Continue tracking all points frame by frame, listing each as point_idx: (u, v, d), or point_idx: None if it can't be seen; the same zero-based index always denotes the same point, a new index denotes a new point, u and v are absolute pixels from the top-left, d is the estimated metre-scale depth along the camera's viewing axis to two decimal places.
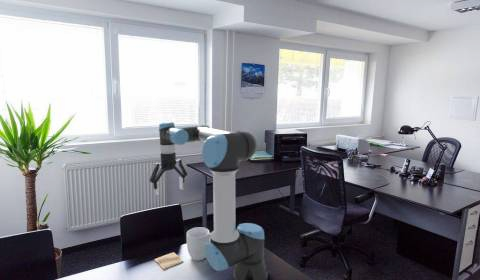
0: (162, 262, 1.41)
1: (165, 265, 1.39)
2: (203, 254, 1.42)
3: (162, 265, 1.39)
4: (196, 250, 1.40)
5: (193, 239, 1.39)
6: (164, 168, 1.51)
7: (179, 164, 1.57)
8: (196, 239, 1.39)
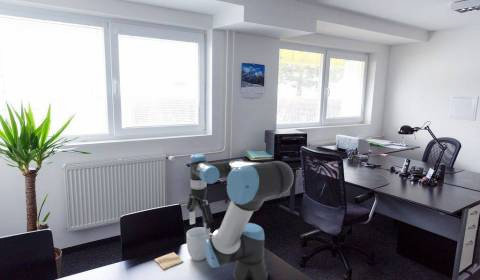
0: (162, 262, 1.41)
1: (165, 265, 1.39)
2: (203, 254, 1.42)
3: (162, 265, 1.39)
4: (196, 250, 1.40)
5: (193, 239, 1.39)
6: (192, 201, 1.44)
7: None
8: (196, 239, 1.39)
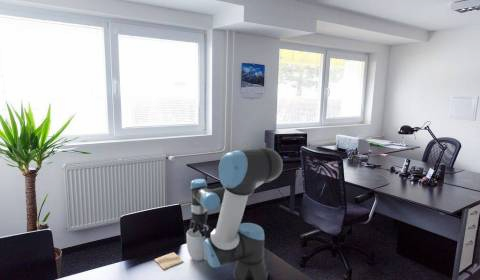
0: (162, 262, 1.41)
1: (165, 265, 1.39)
2: (203, 254, 1.42)
3: (162, 265, 1.39)
4: (196, 250, 1.40)
5: (193, 239, 1.39)
6: (193, 225, 1.46)
7: None
8: (196, 239, 1.39)
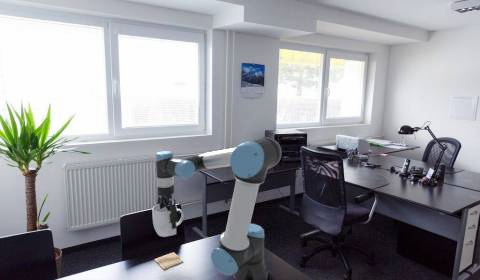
0: (162, 262, 1.41)
1: (165, 265, 1.39)
2: (169, 230, 1.36)
3: (162, 265, 1.39)
4: (161, 225, 1.34)
5: (158, 213, 1.33)
6: (160, 200, 1.39)
7: None
8: (161, 213, 1.33)
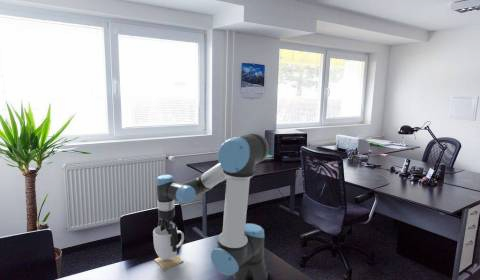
0: (162, 262, 1.41)
1: (165, 265, 1.39)
2: (170, 252, 1.37)
3: (162, 265, 1.39)
4: (162, 248, 1.35)
5: (159, 237, 1.35)
6: (160, 223, 1.41)
7: None
8: (162, 237, 1.34)
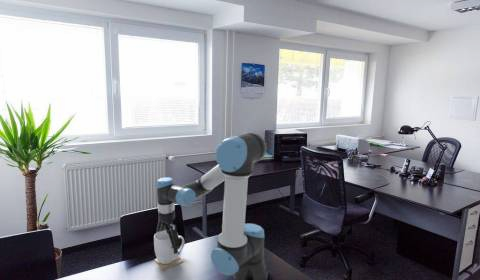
0: None
1: (165, 265, 1.39)
2: (170, 257, 1.38)
3: (162, 265, 1.39)
4: (163, 252, 1.36)
5: (160, 241, 1.35)
6: (160, 225, 1.41)
7: None
8: (163, 242, 1.35)
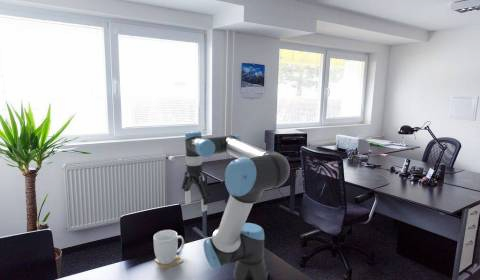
0: None
1: (165, 265, 1.39)
2: (170, 258, 1.38)
3: (162, 265, 1.39)
4: (162, 253, 1.36)
5: (159, 242, 1.35)
6: (188, 179, 1.43)
7: None
8: (162, 242, 1.35)
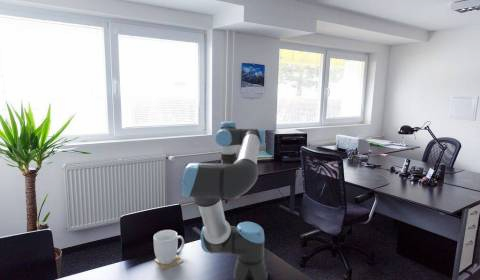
0: None
1: (165, 265, 1.39)
2: (170, 258, 1.38)
3: (162, 265, 1.39)
4: (162, 253, 1.36)
5: (159, 242, 1.35)
6: None
7: None
8: (162, 242, 1.35)
